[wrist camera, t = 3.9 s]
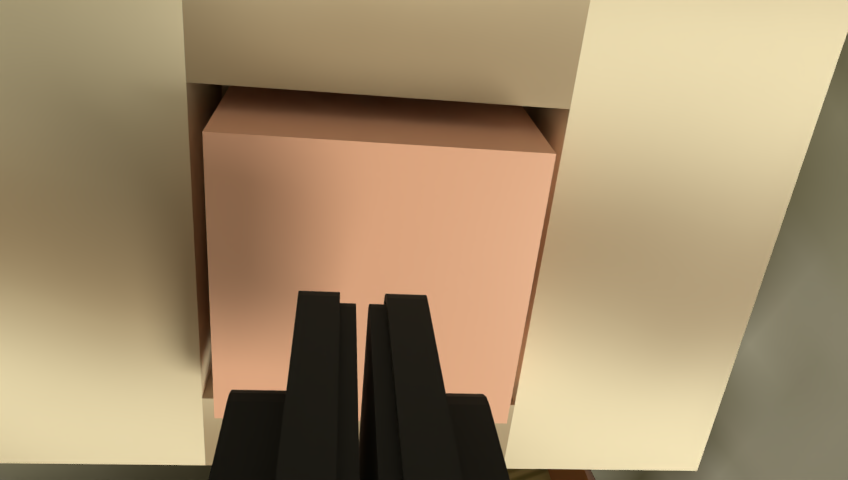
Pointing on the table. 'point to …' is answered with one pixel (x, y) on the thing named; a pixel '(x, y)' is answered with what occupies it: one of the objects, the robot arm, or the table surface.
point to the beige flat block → (408, 78)
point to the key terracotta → (371, 227)
